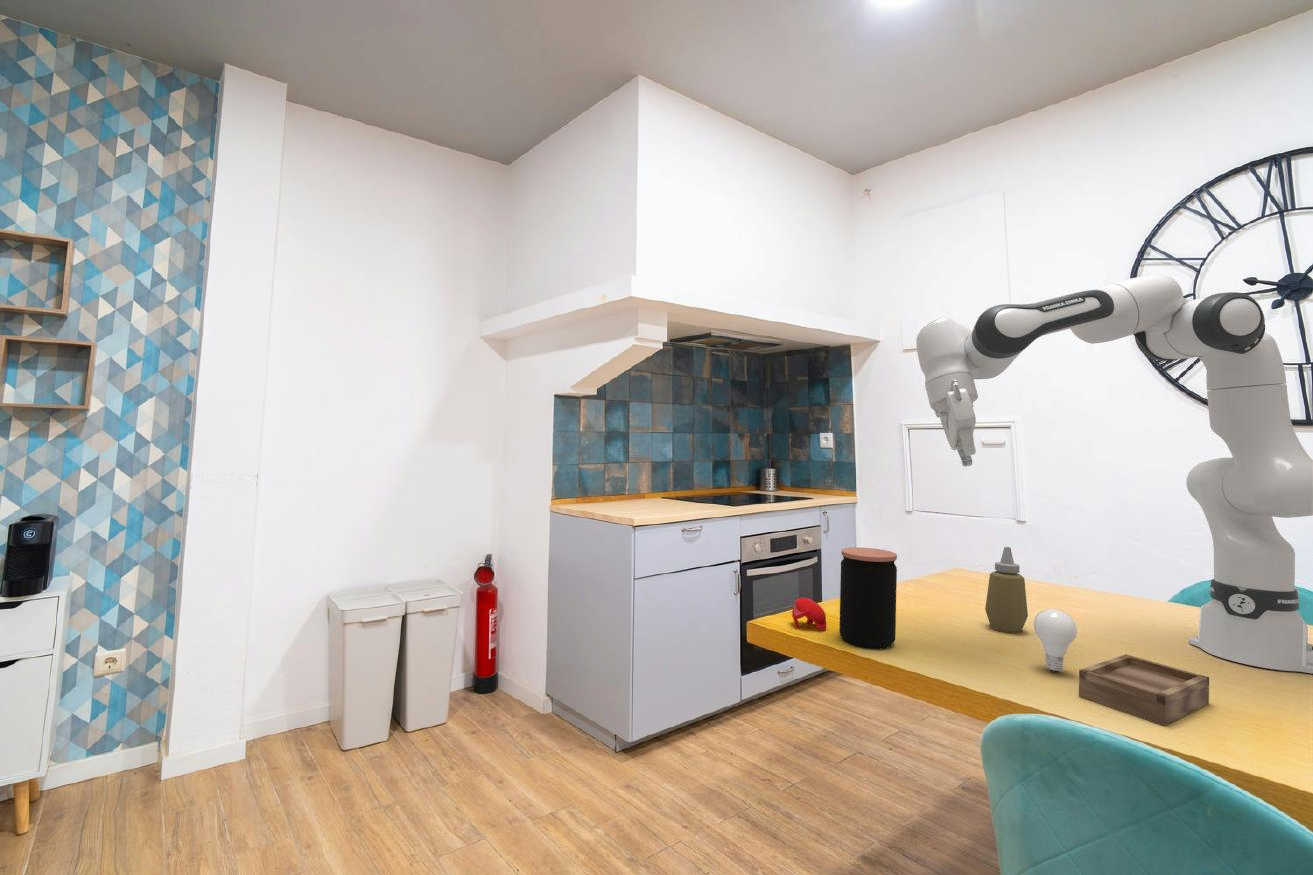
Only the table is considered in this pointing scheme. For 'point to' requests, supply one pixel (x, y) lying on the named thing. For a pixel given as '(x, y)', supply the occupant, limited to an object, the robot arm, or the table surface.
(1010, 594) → the squeeze bottle
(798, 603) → the red animal figurine
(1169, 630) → the table surface
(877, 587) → the coffee jar
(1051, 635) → the lightbulb
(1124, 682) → the walnut tray
